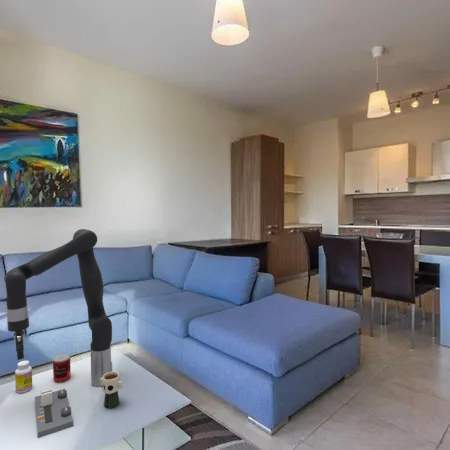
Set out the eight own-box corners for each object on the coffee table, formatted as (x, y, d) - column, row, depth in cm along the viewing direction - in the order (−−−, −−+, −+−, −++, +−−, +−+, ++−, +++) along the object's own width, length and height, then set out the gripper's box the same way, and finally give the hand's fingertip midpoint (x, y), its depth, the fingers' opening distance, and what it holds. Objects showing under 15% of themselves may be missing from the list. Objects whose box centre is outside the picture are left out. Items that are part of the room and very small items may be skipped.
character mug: (95, 407, 138) (94, 377, 137) (106, 397, 145) (105, 369, 144) (117, 411, 135) (117, 382, 134) (127, 401, 142) (126, 373, 141)
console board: (65, 392, 148) (65, 383, 148) (73, 425, 126) (72, 415, 126) (35, 401, 142) (34, 391, 142) (37, 437, 120) (37, 426, 120)
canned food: (65, 372, 166) (64, 352, 165) (73, 377, 161) (73, 356, 160) (50, 379, 159) (49, 357, 159) (58, 384, 155) (57, 362, 154)
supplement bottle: (24, 394, 147) (23, 367, 146) (12, 392, 148) (11, 365, 147) (35, 386, 153) (34, 360, 153) (24, 384, 155) (23, 358, 154)
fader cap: (52, 400, 139) (51, 388, 138) (52, 403, 136) (52, 392, 136) (41, 403, 137) (40, 391, 136) (41, 407, 134) (41, 395, 134)
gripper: (28, 320, 131) (31, 359, 132) (28, 310, 143) (30, 346, 144) (6, 325, 127) (9, 364, 128) (7, 314, 139) (10, 350, 140)
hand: (20, 354), depth 136 cm, fingers open, 8 cm apart
